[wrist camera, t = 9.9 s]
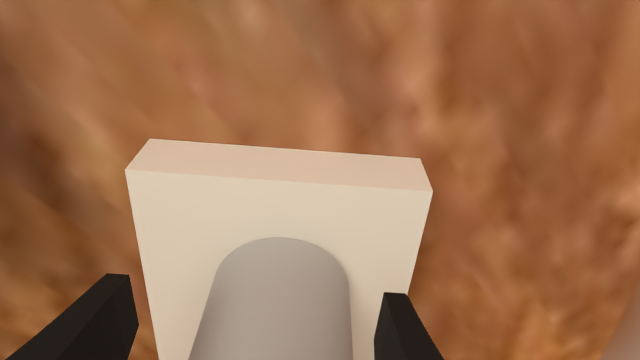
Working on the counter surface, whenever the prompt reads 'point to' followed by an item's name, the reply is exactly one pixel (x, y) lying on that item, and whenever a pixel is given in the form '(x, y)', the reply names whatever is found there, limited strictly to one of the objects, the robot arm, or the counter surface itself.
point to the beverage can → (276, 305)
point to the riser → (271, 223)
